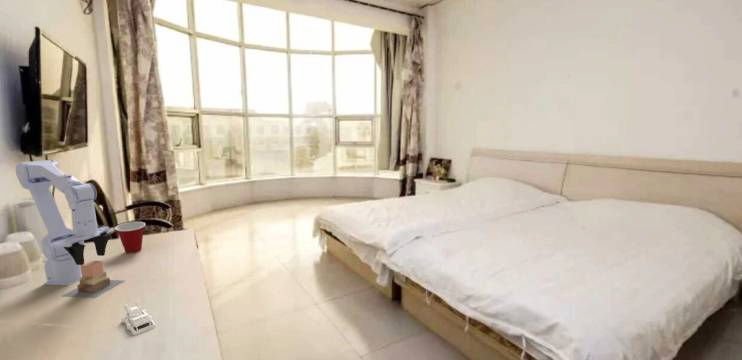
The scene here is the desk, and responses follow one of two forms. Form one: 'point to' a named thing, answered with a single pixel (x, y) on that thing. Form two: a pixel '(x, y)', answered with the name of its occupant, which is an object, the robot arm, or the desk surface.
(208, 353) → the desk surface
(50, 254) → the robot arm
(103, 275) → the tower middle
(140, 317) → the toy car
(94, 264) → the cube
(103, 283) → the tower base
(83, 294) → the mat
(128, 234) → the plastic cup
